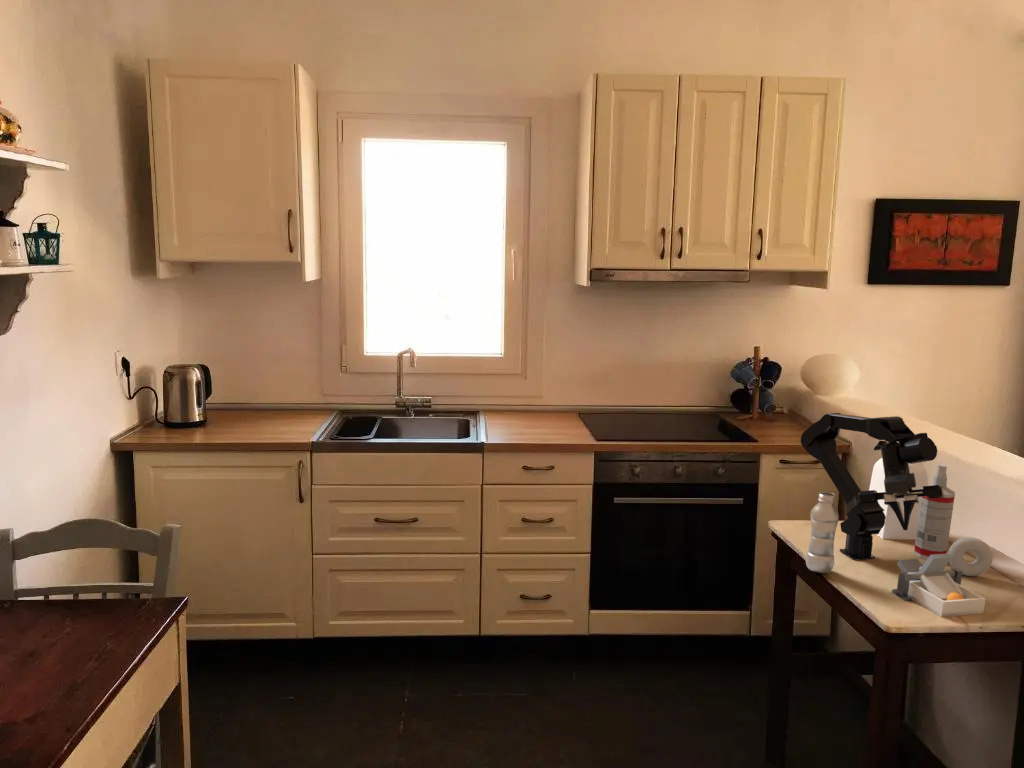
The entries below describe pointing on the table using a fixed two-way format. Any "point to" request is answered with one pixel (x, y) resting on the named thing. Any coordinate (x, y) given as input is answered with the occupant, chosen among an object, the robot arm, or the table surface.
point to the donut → (970, 544)
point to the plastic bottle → (822, 534)
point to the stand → (905, 579)
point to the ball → (954, 596)
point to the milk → (892, 524)
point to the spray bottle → (935, 519)
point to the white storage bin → (947, 601)
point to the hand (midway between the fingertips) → (905, 530)
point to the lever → (932, 574)
